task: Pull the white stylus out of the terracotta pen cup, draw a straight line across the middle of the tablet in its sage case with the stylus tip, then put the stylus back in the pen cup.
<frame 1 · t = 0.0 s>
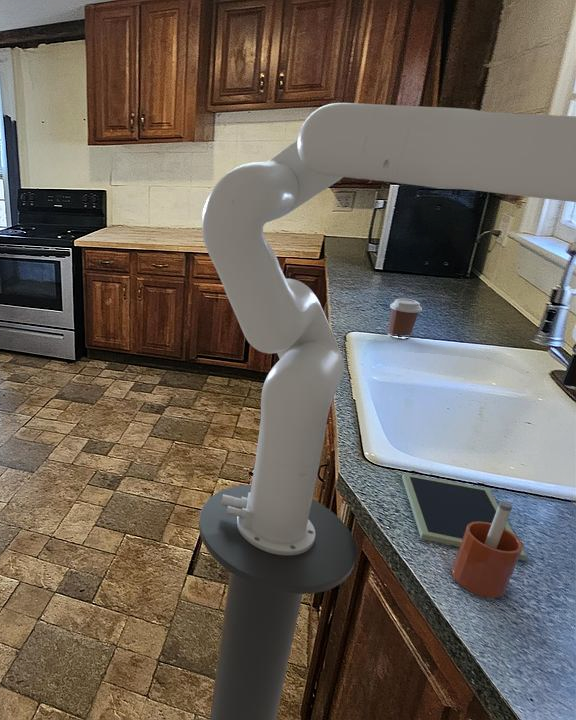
stylus: (491, 542, 74), in the pen cup
coffee cup: (398, 336, 175), on the worktop
tablet: (456, 514, 90), on the worktop
pen cup: (477, 580, 76), on the worktop
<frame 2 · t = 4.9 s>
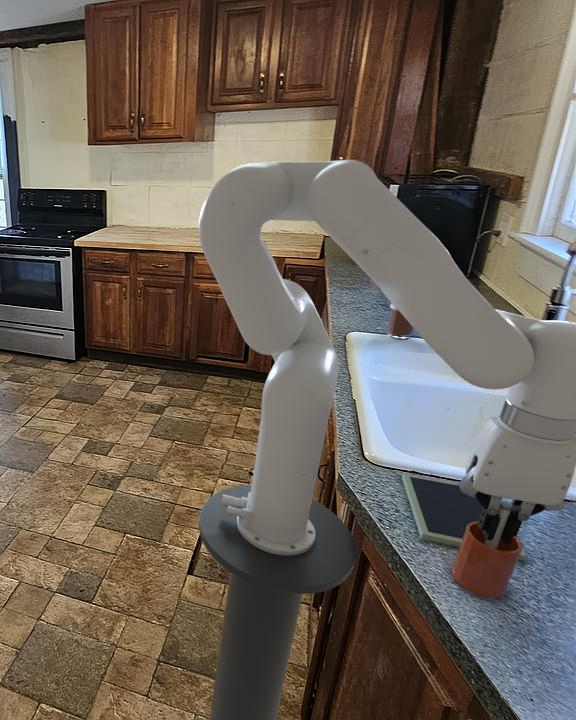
hand: (494, 534, 73), 8 cm above the worktop, tool pointing down, fingers closed on stylus, 1 cm apart
stylus: (491, 542, 74), in the pen cup, touching gripper
everything else where it was.
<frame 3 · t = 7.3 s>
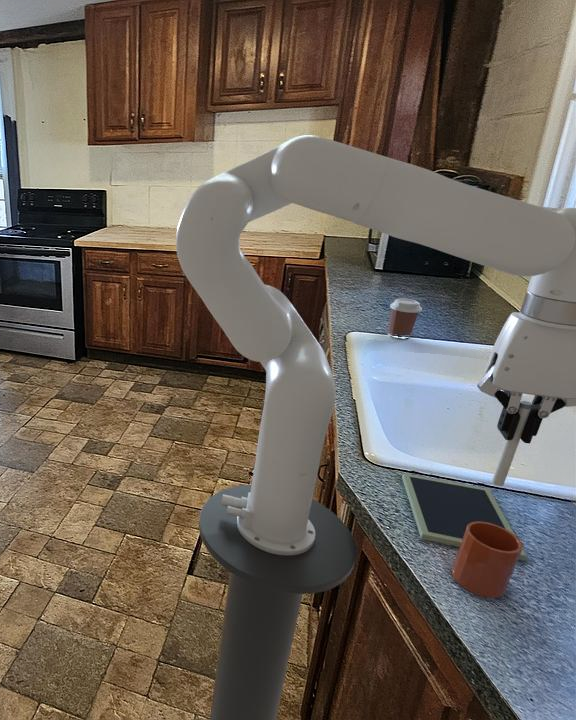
hand: (514, 436, 73), 21 cm above the worktop, tool pointing down, fingers closed on stylus, 1 cm apart
stylus: (511, 444, 74), point 20 cm above the worktop, touching gripper
everything else where it was.
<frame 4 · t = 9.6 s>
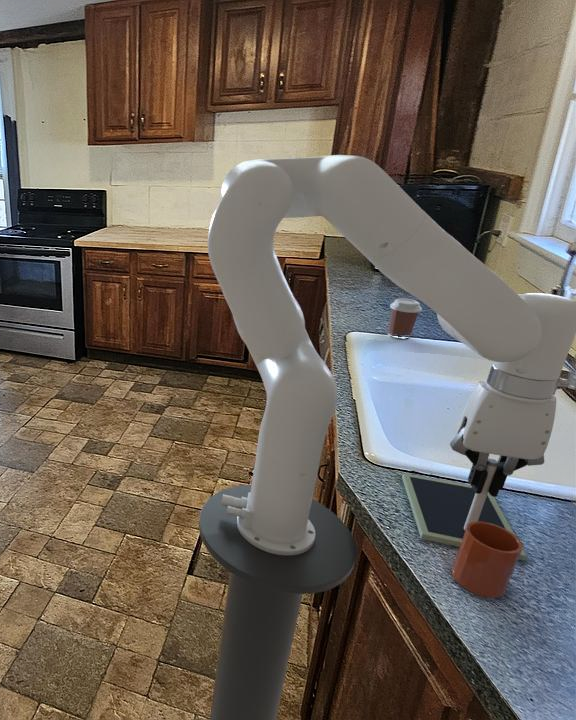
hand: (482, 489, 81), 9 cm above the worktop, tool pointing down, fingers closed on stylus, 1 cm apart
stylus: (480, 496, 82), point 8 cm above the worktop, touching gripper
everything else where it was.
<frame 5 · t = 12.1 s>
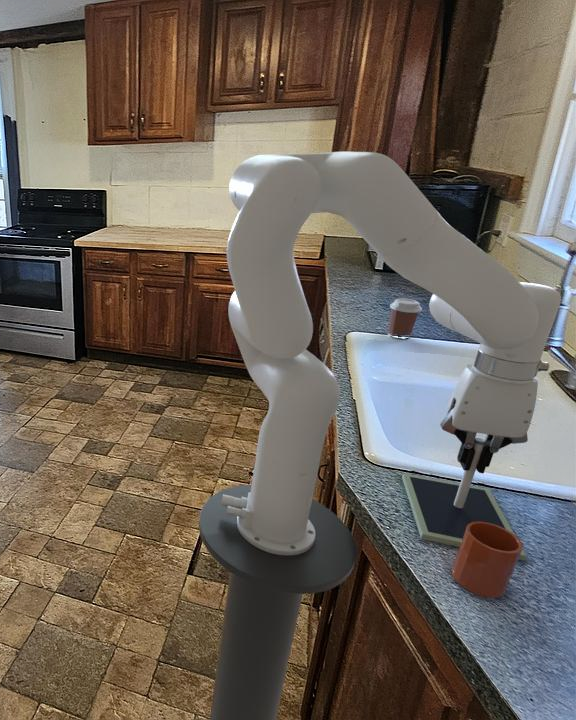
hand: (471, 466, 87), 9 cm above the worktop, tool pointing down, fingers closed on stylus, 1 cm apart
stylus: (468, 473, 87), point 8 cm above the worktop, touching gripper
everything else where it was.
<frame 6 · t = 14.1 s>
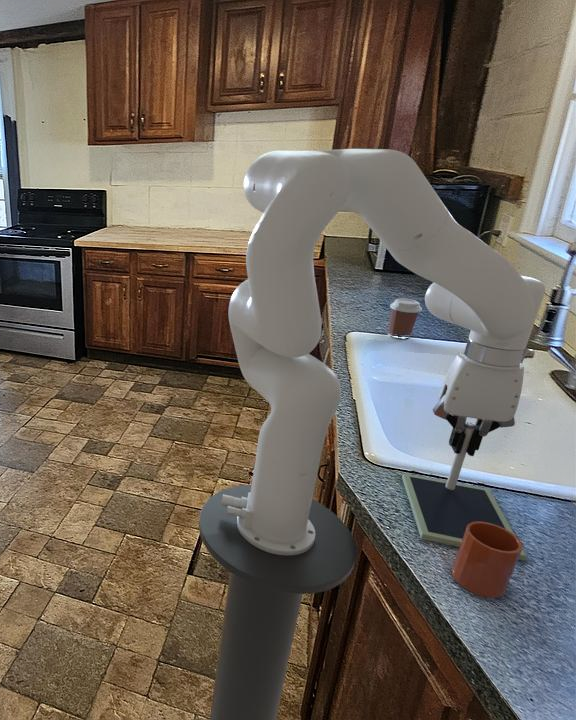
hand: (461, 450, 92), 9 cm above the worktop, tool pointing down, fingers closed on stylus, 1 cm apart
stylus: (459, 456, 92), point 8 cm above the worktop, touching gripper
everything else where it was.
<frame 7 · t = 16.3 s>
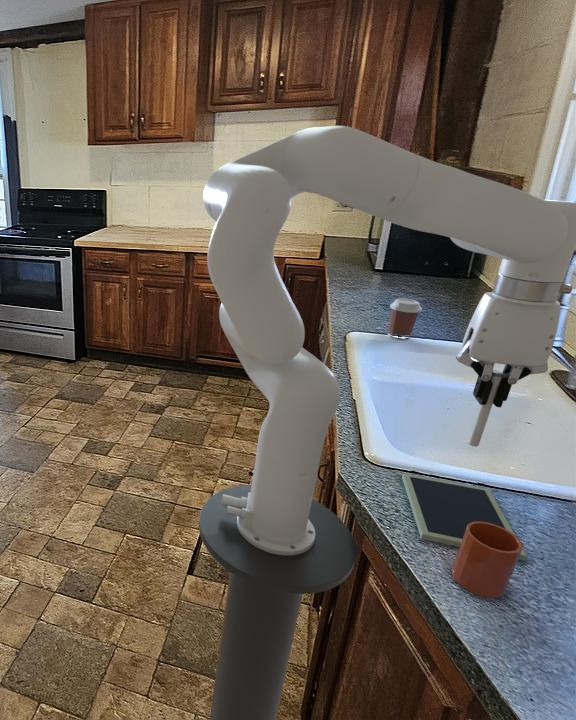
hand: (487, 401, 83), 21 cm above the worktop, tool pointing down, fingers closed on stylus, 1 cm apart
stylus: (485, 409, 84), point 20 cm above the worktop, touching gripper
everything else where it was.
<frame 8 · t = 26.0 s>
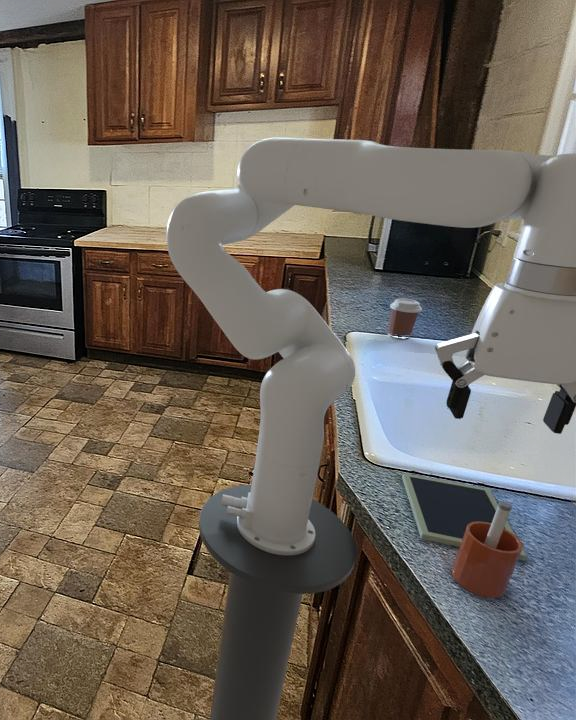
hand: (502, 420, 62), 28 cm above the worktop, tool pointing down, fingers open, 9 cm apart
stylus: (491, 542, 74), in the pen cup
everything else where it was.
at the end: stylus 0.0 cm off-centre in the pen cup, point 7.0 cm above the pen cup's base; the gripper is holding nothing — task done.
